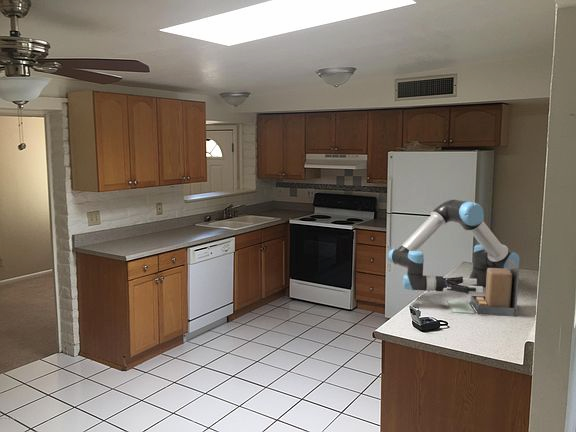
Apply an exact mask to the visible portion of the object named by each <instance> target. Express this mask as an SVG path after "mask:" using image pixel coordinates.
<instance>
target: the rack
mask: <svg viewBox="0 0 576 432" xmlns="http://www.w3.org/2000/svg"><path fill="white" fill-rule="evenodd" d="M507 269H508V270H509V271H510V272H511V273H512V287H511V300H510V307H490V306H480V305H479V304H478V302H477V301H476V297H483V298H484V300H485V295H484V296H483V295H471V296H470V297H471V298H470V305H473V306H472V307H473V308H475V309H474V310H475V311H477V312H476V313H477V315H479V314H482V316H499V317H503V316H504V317H516V316H517V307H518V305H517V304H518V294H519V293H518V291H519V281H520V279H519V277H520V265H516V264H515V263H514V262H513V261H512V260H510V259H508V261H507Z"/></svg>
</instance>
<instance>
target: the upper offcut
mask: <svg viewBox="0 0 576 432" xmlns="http://www.w3.org/2000/svg"><path fill="white" fill-rule="evenodd" d="M476 301H477V302H478V304H479V305H480V306H487V303H486V301H485V300H484V298H483V297H476Z"/></svg>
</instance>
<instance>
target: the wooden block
mask: <svg viewBox="0 0 576 432" xmlns="http://www.w3.org/2000/svg"><path fill="white" fill-rule="evenodd" d="M511 287H512V273H511V272H510V271H509V270H508V269H502V268H488V269H487V278H486V287H485V295H484V296H485V301H486V303H487V306H490V307H510V300H511Z"/></svg>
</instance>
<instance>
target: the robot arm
mask: <svg viewBox="0 0 576 432" xmlns="http://www.w3.org/2000/svg"><path fill="white" fill-rule="evenodd" d="M484 218H485V215H484V209H483V207H482V206H481V205H480V204H479V203H477V202H473V201H466V200H458V199H449V200H445V201H444V202H443V203H440V205H438V206H437V207H435V208H434V209H433V210H432V211H431V212H430V216H428V218H426V220H424V222H423V223H421V225H420V226H419V227H418V228H417V229H416V230H415V231H414V232H413V233H412V234H411V235H409V237H408V238H407V239H405V241H404V242H403V243H402V244H401V245H400V246H399V247H398V248H393V249H391V250H389V251H388V255H387V258H388V261H389V262H390V263H392V264H394V265H397V266H399V267H403V268H406V269H407V273H406V274H403V277H402V287H403V289H404V290H406V291H407V290H409V291H427V292H428V293H429V292H430V291H431V292H434V291H435V292H443V291H444V289H446V291H453V292H457V293H463V294H466V295H467V294H469V293H483V292H484V291H483V290H484V288H486V278H487V269H488V268H502V269H507V261H508V259H510V260H512V261H513V262H514V263H515V264H516V265H518V266H520V255H519V254H518V253H516V252H514V251H511V250H510V249H509V247H508V246H507V245H505V244H502V243H501V242H500V241H499V239H498V238H497V237H496V236H495V234H494V233H493V232H492V230H491V229H490V228H489V227H488V226H487V224H486V223H485V221H484ZM451 222H453V223H457V224H458V223H459V225H460V226H461V227H462V228H463V229H464V230H465V231H468V232H469V233H471V235H472V236H473V238H475V240H476V241H477V242H478V243H479V244H476V245H474V247H473V248H474V249H473V255H472V257H473V259H472V270H471V272H470V276H469V277H468V278H464V277H463V276H456V277H455V276H454V277H444V276H443V275H424V262H425V259H424V253H423V252H422V251H420V250H419V249H420V248H421V247H422V246H423V245H424V244H425V243H426V242H427V241H428V240H429V239H430V238H431V236H432V235H434V234H435V233H436V231H437V230H439V228H441V227H443V226H445V225H446V224H447V223H451ZM462 284H463V285H462ZM467 285H468V286H467Z"/></svg>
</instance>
